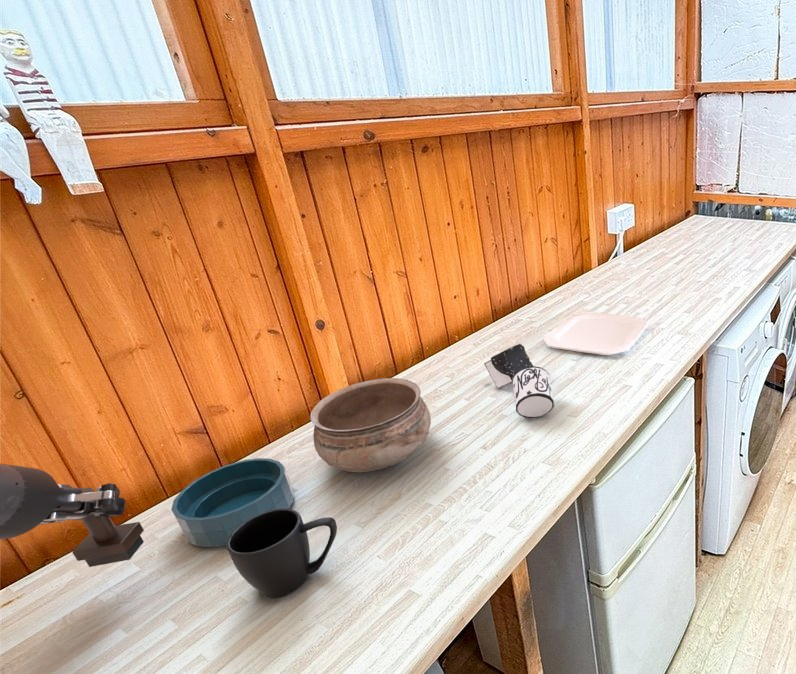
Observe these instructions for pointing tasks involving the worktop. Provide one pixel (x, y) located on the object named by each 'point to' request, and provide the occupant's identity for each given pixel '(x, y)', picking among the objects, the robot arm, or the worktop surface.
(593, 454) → the worktop surface
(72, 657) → the worktop surface
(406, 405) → the cooking pot
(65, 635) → the worktop surface
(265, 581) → the mug
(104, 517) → the brown stamp
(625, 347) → the plate
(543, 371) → the black and white cylinder
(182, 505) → the bowl
